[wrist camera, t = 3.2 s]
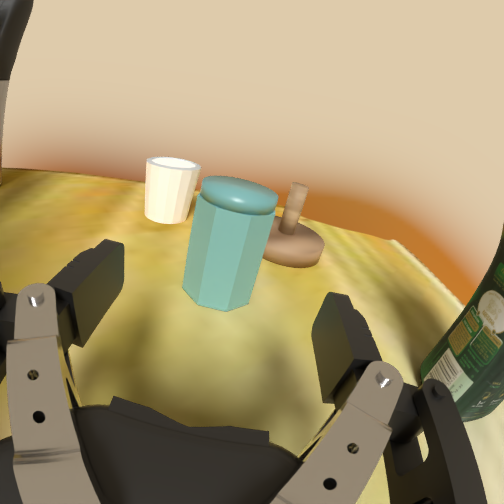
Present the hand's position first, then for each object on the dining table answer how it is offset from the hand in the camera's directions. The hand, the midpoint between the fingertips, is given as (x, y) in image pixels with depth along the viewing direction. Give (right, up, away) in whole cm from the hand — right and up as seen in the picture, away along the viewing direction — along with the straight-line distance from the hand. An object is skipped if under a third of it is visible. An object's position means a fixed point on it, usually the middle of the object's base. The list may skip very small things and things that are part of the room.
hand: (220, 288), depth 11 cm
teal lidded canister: (-2, -2, +14) cm, 14 cm away
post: (+5, +2, +25) cm, 25 cm away
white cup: (-10, +6, +25) cm, 27 cm away
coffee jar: (+19, -11, +7) cm, 23 cm away
